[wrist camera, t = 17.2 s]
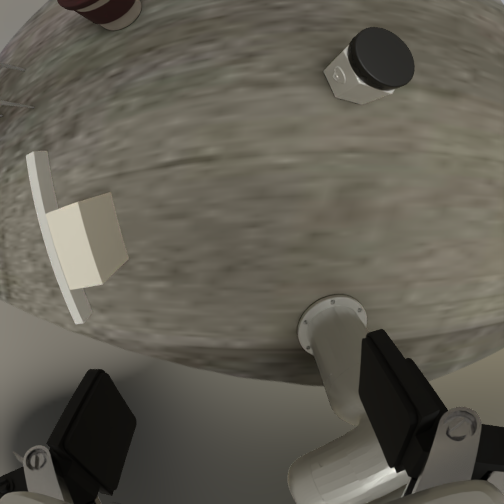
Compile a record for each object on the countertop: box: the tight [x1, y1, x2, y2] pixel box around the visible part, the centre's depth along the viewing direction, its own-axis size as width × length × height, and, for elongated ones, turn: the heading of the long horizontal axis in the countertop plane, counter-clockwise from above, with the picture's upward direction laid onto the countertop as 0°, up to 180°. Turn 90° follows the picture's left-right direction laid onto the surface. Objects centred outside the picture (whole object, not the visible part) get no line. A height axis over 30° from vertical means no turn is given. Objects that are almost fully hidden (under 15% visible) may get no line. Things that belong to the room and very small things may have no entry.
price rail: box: [26, 151, 93, 324], centre depth 39 cm, size 30×2×4 cm, turn 10°
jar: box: [323, 27, 414, 105], centre depth 29 cm, size 9×8×12 cm
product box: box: [46, 192, 129, 290], centre depth 36 cm, size 6×11×10 cm, turn 10°
